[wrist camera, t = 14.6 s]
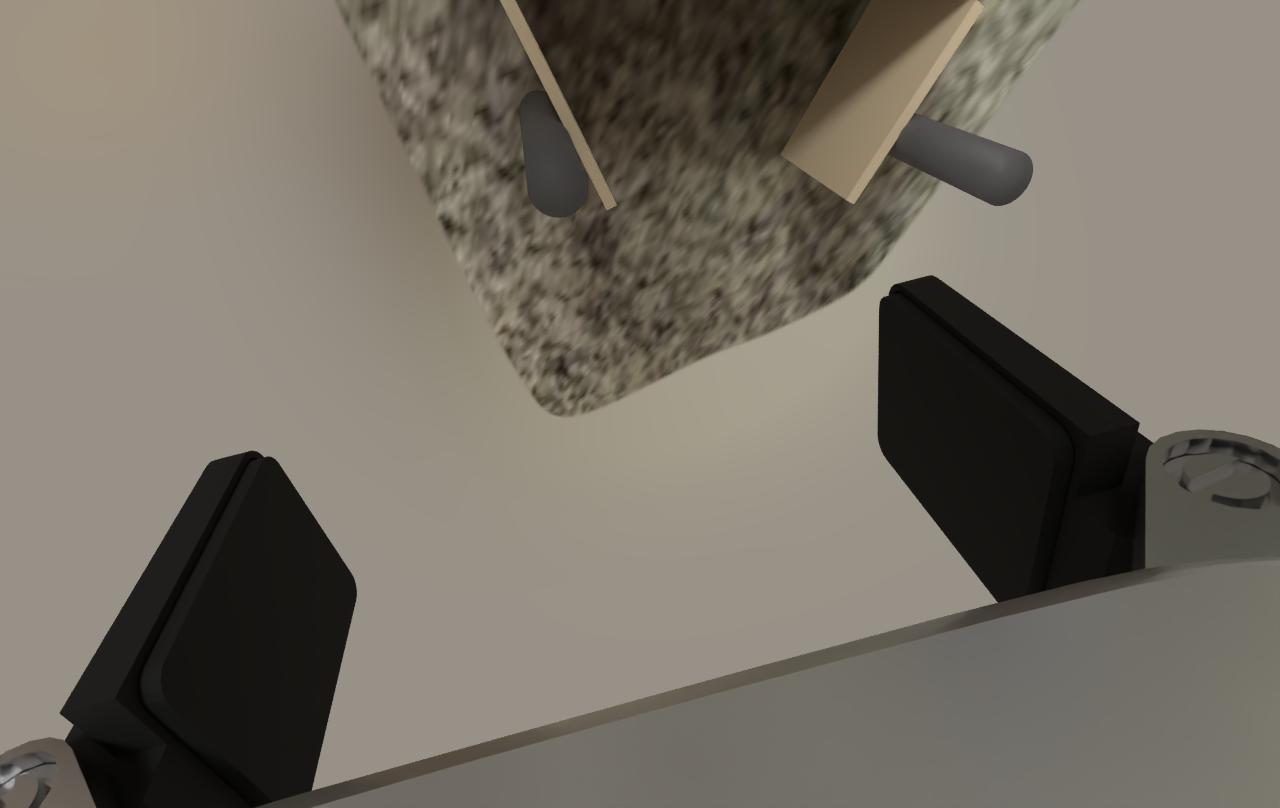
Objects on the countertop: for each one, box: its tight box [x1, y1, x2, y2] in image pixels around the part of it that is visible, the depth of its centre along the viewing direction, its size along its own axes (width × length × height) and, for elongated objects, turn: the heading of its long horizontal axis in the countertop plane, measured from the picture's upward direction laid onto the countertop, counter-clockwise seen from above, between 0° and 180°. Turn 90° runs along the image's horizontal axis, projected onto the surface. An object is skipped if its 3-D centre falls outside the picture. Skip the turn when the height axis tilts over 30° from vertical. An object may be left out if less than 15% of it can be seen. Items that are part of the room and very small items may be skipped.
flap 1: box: [500, 0, 617, 217], centre depth 28 cm, size 2×9×16 cm, turn 25°
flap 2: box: [780, 0, 1033, 206], centre depth 31 cm, size 2×9×16 cm, turn 152°
